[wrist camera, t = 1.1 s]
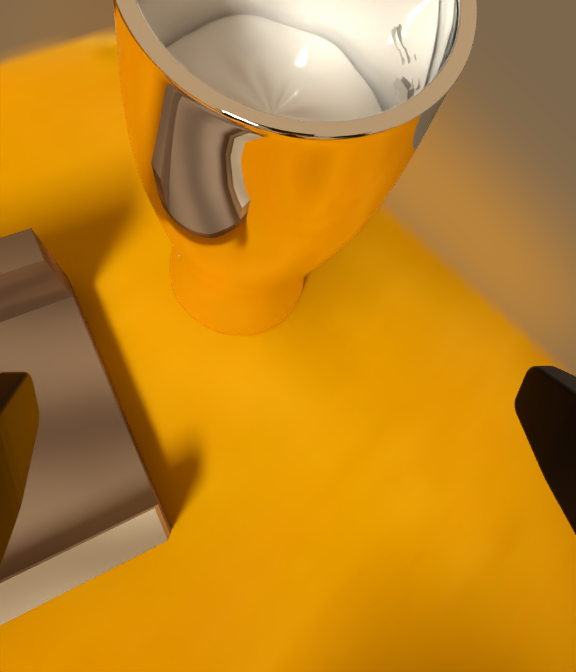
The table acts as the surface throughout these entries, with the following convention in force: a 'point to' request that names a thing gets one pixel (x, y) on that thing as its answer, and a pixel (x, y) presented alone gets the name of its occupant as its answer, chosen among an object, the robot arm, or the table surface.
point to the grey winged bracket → (67, 442)
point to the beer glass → (276, 132)
